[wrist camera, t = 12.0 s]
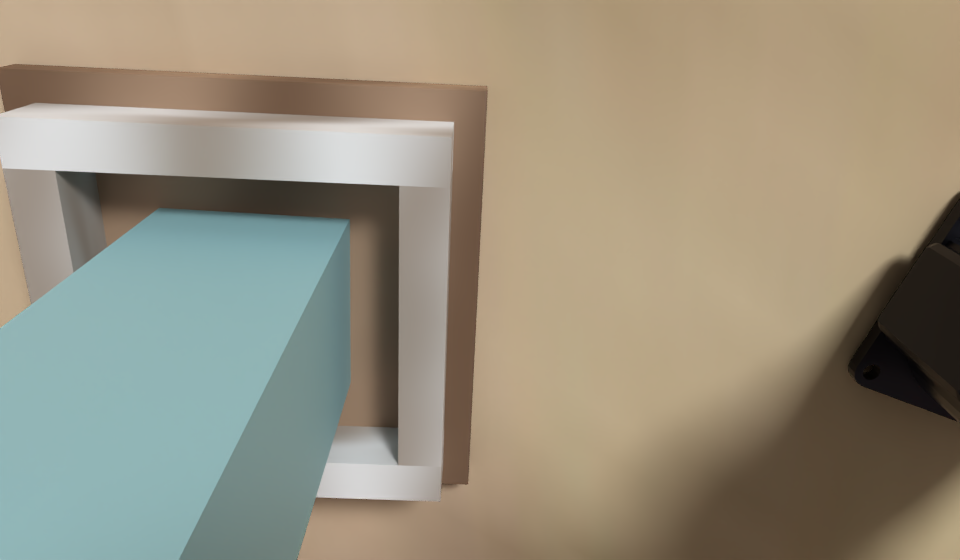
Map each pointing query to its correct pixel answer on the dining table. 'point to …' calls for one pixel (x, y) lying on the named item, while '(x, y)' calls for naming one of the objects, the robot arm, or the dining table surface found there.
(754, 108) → the dining table surface
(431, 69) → the dining table surface
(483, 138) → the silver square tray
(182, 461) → the block
